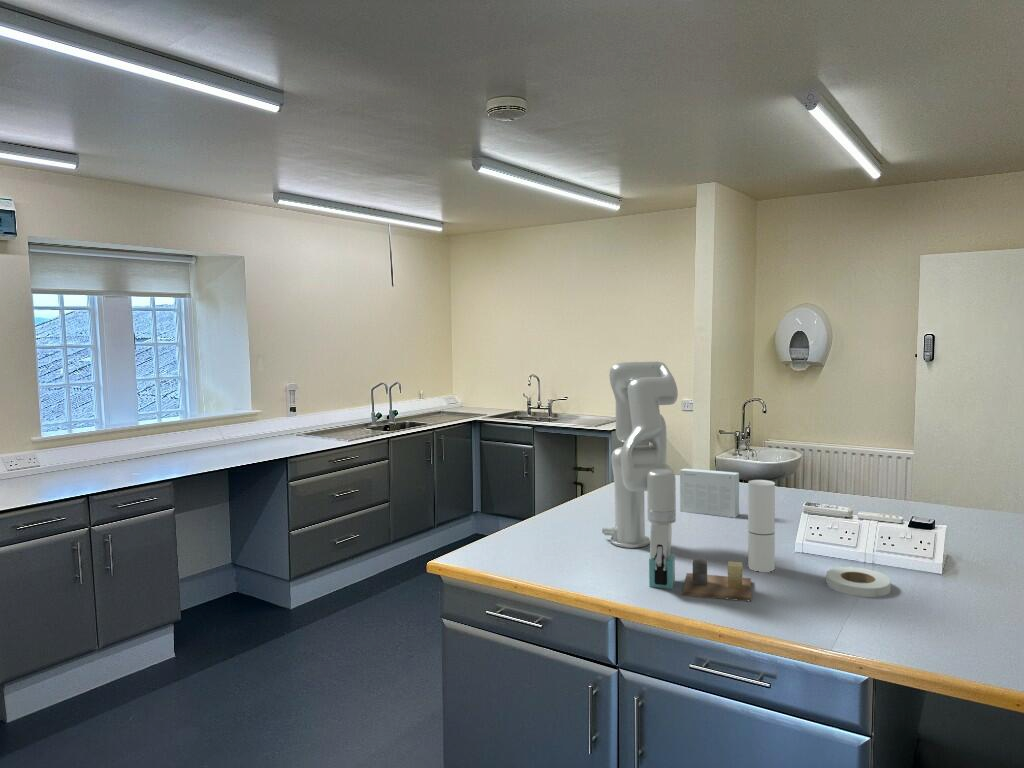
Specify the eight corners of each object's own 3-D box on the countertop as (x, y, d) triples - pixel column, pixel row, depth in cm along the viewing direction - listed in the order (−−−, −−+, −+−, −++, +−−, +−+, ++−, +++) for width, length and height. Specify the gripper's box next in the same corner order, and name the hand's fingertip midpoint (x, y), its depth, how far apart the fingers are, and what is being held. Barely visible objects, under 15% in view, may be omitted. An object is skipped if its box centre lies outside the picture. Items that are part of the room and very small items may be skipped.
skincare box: (739, 514, 256) (739, 472, 255) (735, 518, 252) (735, 475, 250) (684, 508, 267) (683, 467, 266) (679, 511, 263) (678, 470, 262)
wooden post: (727, 588, 183) (727, 565, 183) (728, 583, 187) (728, 561, 186) (742, 589, 182) (742, 567, 182) (742, 584, 186) (742, 562, 185)
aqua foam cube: (649, 586, 188) (649, 559, 188) (652, 578, 194) (651, 552, 194) (672, 588, 186) (672, 561, 186) (674, 580, 192) (674, 553, 192)
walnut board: (682, 595, 182) (682, 569, 181) (686, 576, 195) (686, 552, 195) (751, 601, 177) (751, 574, 176) (750, 581, 190) (750, 556, 189)
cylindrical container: (774, 565, 202) (774, 480, 200) (774, 573, 196) (775, 486, 194) (748, 562, 205) (748, 479, 203) (748, 571, 198) (748, 484, 196)
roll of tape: (888, 602, 175) (888, 591, 174) (822, 591, 183) (822, 581, 182) (892, 582, 188) (892, 572, 187) (830, 573, 196) (830, 563, 195)
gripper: (651, 506, 198) (652, 568, 200) (643, 523, 182) (644, 590, 183) (678, 508, 196) (679, 570, 197) (672, 524, 180) (673, 592, 181)
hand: (662, 579), depth 190 cm, fingers closed on aqua foam cube, 6 cm apart
